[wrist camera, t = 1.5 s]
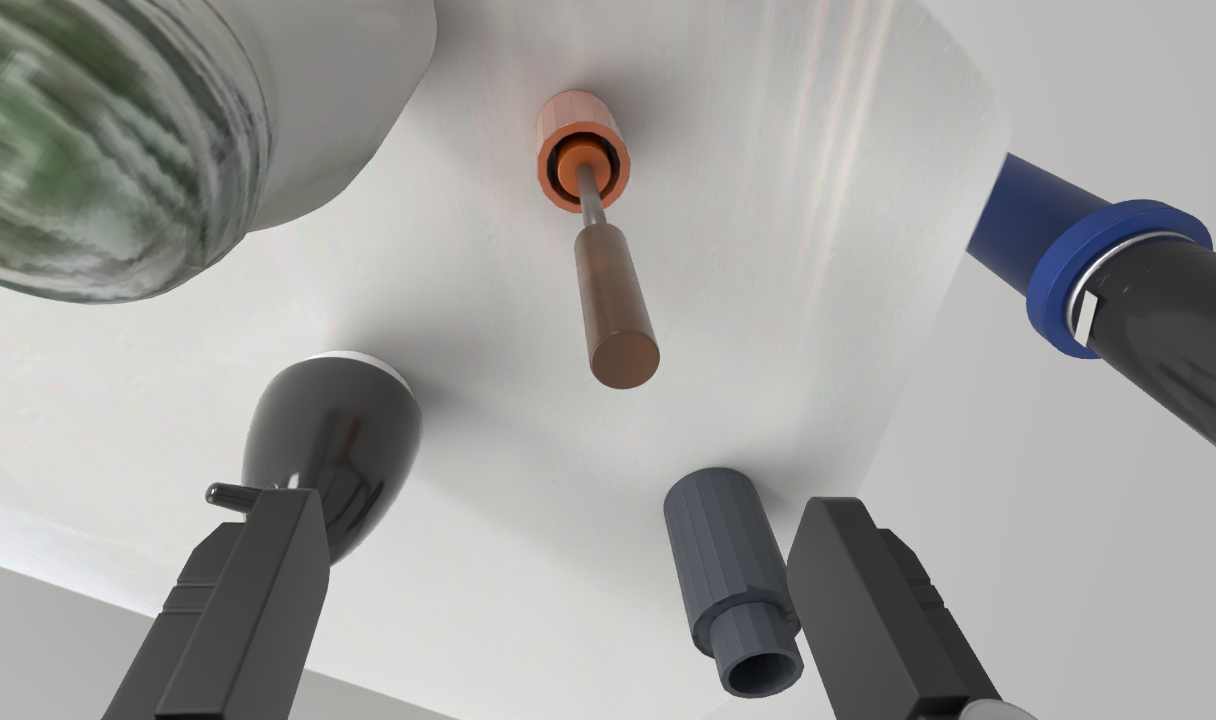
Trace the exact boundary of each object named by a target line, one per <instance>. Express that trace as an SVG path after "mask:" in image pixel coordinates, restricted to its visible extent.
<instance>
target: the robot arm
mask: <svg viewBox="0 0 1216 720" xmlns="http://www.w3.org/2000/svg"><path fill="white" fill-rule="evenodd" d="M1062 320H1063V324H1064V327H1065V329H1066V331H1067V332H1068V333H1069V335H1070V336H1071V337H1073V338H1074V339H1075V340H1076V341H1078V342H1079V343H1080V344H1081V345H1083V346H1084V347H1087V348H1089V349H1090V350H1092V351H1093V352H1094V353H1096V354H1097V355H1098V356H1099V357H1101V358H1102V359H1103V360H1105V361H1106V362H1107V363H1109V364H1110V365H1111V366H1112V367H1113V368H1115V369H1116V370H1117V371H1118V372H1120V373H1121V374H1123V375H1124V376H1125V377H1126V378H1128V379H1129V380H1130V381H1132V382H1133V383H1134V384H1135V385H1137V386H1138V387H1139V388H1140V389H1142V390H1143V391H1144V392H1146V393H1147V394H1148V395H1150V396H1151V397H1152V398H1153V399H1155V400H1156V401H1157V402H1159V403H1160V404H1161V405H1162V406H1164V407H1165V408H1166V409H1168V410H1169V411H1170V412H1172V413H1173V414H1174V415H1175V416H1177V417H1178V418H1179V419H1181V420H1182V421H1183V422H1185V423H1186V424H1187V425H1188V426H1190V427H1191V428H1192V429H1194V430H1195V431H1196V432H1198V433H1199V434H1200V435H1201V436H1203V437H1204V438H1205V439H1206V440H1208V441H1209V442H1210V443H1212V444H1213V445H1214V446H1216V253H1215V252H1213V251H1211V250H1209V249H1207V248H1205V247H1203V246H1201V245H1199V244H1197V243H1196V242H1195V241H1194V240H1192V239H1191V238H1189V237H1187V236H1185V235H1182V234H1180V233H1178V232H1176V231H1173V230H1170V229H1163V228H1153V229H1146V230H1141V231H1137V232H1134V233H1131V234H1129V235H1126V236H1124V237H1122V238H1119V239H1118V240H1116V241H1114V242H1112V243H1111V244H1109V245H1107V246H1106V247H1104V248H1103V249H1102V250H1100V251H1099V252H1098V253H1097V254H1095V255H1094V256H1093V257H1092V258H1091V259H1090V260H1089V261H1088V262H1087V263H1086V264H1085V265H1084V266H1083V267H1082V268H1081V269H1080V271H1079V272H1078V273H1077V275H1076V276H1075V277H1074V279H1073V280H1072V282H1071V284H1070V286H1069V288H1068V290H1067V292H1066V294H1065V297H1064V301H1063V305H1062ZM329 574H330V554H329V548H328V542H327V536H326V530H325V524H324V518H323V512H322V506H321V500H320V495H319V492H318V490H317V489H303V488H265V489H263V490H262V491H261V492H260V494H259V496H258V497H257V499H256V502H255V504H254V506H253V508H252V510H251V512H250V514H249V516H248V518H247V520H246V522H245V523H233V522H223V523H222V524H221V525H220V526H219V527H218V528H216V529H215V530H214V531H213V532H212V533H211V534H210V535H209V536H208V537H207V538H206V539H204V540H203V541H202V542H201V543H200V544H199V545H198V546H197V547H196V548H195V549H194V550H193V552H192V554H191V555H190V557H189V559H188V561H187V563H186V565H185V566H184V568H183V570H182V572H181V574H180V576H179V578H178V579H177V585H176V587H173V589H172V590H171V592H170V594H169V596H168V598H167V600H166V602H165V603H164V605H163V611H162V613H159V615H158V616H157V618H156V620H155V622H154V624H153V626H152V628H151V629H150V631H149V633H148V635H147V637H146V639H145V640H144V642H143V644H142V646H141V648H140V650H139V652H138V653H137V655H136V657H135V659H134V661H133V663H132V665H131V666H130V668H129V670H128V672H127V674H126V676H125V677H124V679H123V681H122V683H121V685H120V687H119V688H118V690H117V692H116V694H115V696H114V698H113V700H112V702H111V704H110V705H109V707H108V709H107V711H106V713H105V714H104V716H103V717H102V719H101V720H287V719H288V716H289V713H290V709H291V707H292V703H293V700H294V697H295V694H296V690H297V687H298V684H299V680H300V677H301V674H302V671H303V668H304V665H305V661H306V658H307V655H308V652H309V648H310V645H311V642H312V639H313V635H314V632H315V629H316V626H317V623H318V619H319V616H320V613H321V610H322V606H323V603H324V600H325V597H326V593H327V588H328V583H329ZM787 584H788V589H789V593H790V596H791V599H792V602H793V604H794V607H795V610H796V612H797V615H798V618H799V620H800V623H801V626H802V628H803V631H804V634H805V636H806V639H807V642H808V644H809V647H810V649H811V652H812V655H813V658H814V660H815V663H816V666H817V668H818V671H819V673H820V676H821V679H822V682H823V684H824V687H825V690H826V692H827V695H828V698H829V700H830V703H831V706H832V708H833V711H834V714H835V716H836V718H837V720H1038V719H1037V718H1035V717H1034V716H1032V715H1031V714H1030V713H1028V712H1026V711H1025V710H1023V709H1021V708H1019V707H1017V706H1015V705H1012V704H1010V703H1007V702H1004V701H1003V700H1002V698H1001V697H1000V695H999V694H998V692H997V690H996V689H995V687H994V686H993V684H992V682H991V680H990V679H989V677H988V675H987V674H986V672H985V670H984V669H983V667H982V665H981V664H980V662H979V660H978V659H977V657H976V655H975V653H974V652H973V650H972V649H971V647H970V645H969V643H968V642H967V640H966V638H965V637H964V635H963V633H962V632H961V630H960V628H959V627H958V625H957V624H956V622H955V620H954V618H953V617H952V615H951V613H950V612H949V610H948V609H947V608H944V602H943V600H942V598H941V596H940V595H939V593H938V591H937V590H936V588H935V586H934V585H931V583H930V578H929V576H928V575H927V573H926V571H925V569H924V568H923V566H922V565H921V563H920V561H919V559H918V558H917V556H916V554H915V553H914V552H913V551H912V550H911V549H910V548H909V547H908V546H907V545H906V544H905V543H904V542H903V541H901V540H900V539H899V538H898V537H897V536H896V535H895V534H894V533H893V532H892V531H891V530H890V529H877V527H876V525H875V524H874V522H873V520H872V518H871V517H870V515H869V513H868V511H867V509H866V508H865V506H864V504H863V503H862V502H861V501H860V500H859V499H858V498H855V497H812V498H810V499H809V501H808V502H807V505H806V507H805V510H804V513H803V516H802V519H801V522H800V524H799V527H798V530H797V533H796V536H795V539H794V542H793V545H792V547H791V550H790V553H789V556H788V560H787Z"/></svg>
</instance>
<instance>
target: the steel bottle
mask: <svg viewBox="0 0 1216 720" xmlns="http://www.w3.org/2000/svg"><path fill="white" fill-rule="evenodd" d="M664 516H665V521H666V525H667V529H668V534H669V538H670V543H671V547H672V552H673V556H674V560H675V565H676V569H677V574H678V578H679V583H680V587H681V591H682V596H683V600H684V605H685V609H686V614H687V618H688V623H689V627H690V631H691V636H692V639H693V642H694V645H695V646H696V647H697V648H698V649H699V650H700V651H701V652H702V653H703V654H704V655H706V656H709V657H711V658H713V659H715V661H716V665H717V669H718V673H719V677H720V681H721V683H722V686H723V688H724V690H726V691H727V692H729V693H730V694H732V695H733V696H737V697H742V698H763V697H767V696H770V695H774V694H778V693H780V692H782V691H783V690H785V689H787V688H789V687H791V686H792V685H793V684H794V683H795V682H796V681H797V680H798V679H799V678H800V677H801V675H802V672H803V669H804V664H803V661H802V658H801V655H800V653H799V650H798V647H797V644H796V642H795V639H794V638H795V636H796V635H797V634H798V633H799V631H800V630H801V627H802V626H801V623H800V620H799V618H798V615H797V612H796V610H795V607H794V604H793V602H792V599H791V596H790V593H789V589H788V584H787V567H786V565H785V562H784V560H783V557H782V555H781V552H780V550H779V547H778V545H777V542H776V540H775V537H774V534H773V532H772V529H771V527H770V524H769V522H768V519H767V517H766V514H765V512H764V509H763V507H762V504H761V502H760V499H759V496H758V494H757V492H756V490H755V488H754V486H753V484H752V482H751V481H750V480H749V479H748V478H747V477H746V476H744V475H743V474H741V473H739V472H737V471H735V470H731V469H726V468H709V469H703V470H700V471H697V472H694V473H691V474H689V475H687V476H686V477H684V478H682V479H681V480H680V481H678V482H677V483H676V484H675V485H674V486H673V487H672V488H671V490H670V491H669V493H668V494H667V496H666V499H665V502H664Z"/></svg>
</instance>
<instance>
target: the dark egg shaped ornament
mask: <svg viewBox="0 0 1216 720" xmlns="http://www.w3.org/2000/svg"><path fill="white" fill-rule="evenodd" d="M422 433H423V421H422V415H421V412H420V409H419V406H418V404H417V402H416V400H415V398H414V396H413V393H412V391H411V389H410V387H409V386H408V384H407V383H406V381H405V380H404V379H403V378H402V376H401V375H400V374H399V373H398V372H397V371H396V370H394V369H393V368H392V367H391V366H389V365H388V364H386V363H385V362H383V361H381V360H379V359H377V358H375V357H373V356H370V355H367V354H364V353H360V352H354V351H330V352H324V353H320V354H316V355H314V356H311V357H308V358H306V359H304V360H302V361H300V362H299V363H296V364H294V365H292V366H290V367H288V368H286V369H285V370H283V371H282V372H280V373H279V374H278V375H277V376H276V377H274V378H273V379H272V381H271V382H270V383H269V384H268V386H267V387H266V389H265V390H264V392H263V394H262V396H261V398H260V400H259V402H258V404H257V406H256V409H255V412H254V415H253V418H252V421H251V424H250V428H249V431H248V435H247V439H246V444H245V448H244V455H243V462H242V476H241V486H239V485H232V484H225V483H219V482H216V483H213V484H212V485H210V486H209V488H208V489H207V491H206V494H205V499H206V501H207V502H208V503H210V504H213V505H217V506H220V507H223V508H227V509H230V510H234V511H237V512H241V513H243V519H244V523H245V522H246V520H247V518H248V516H249V514H250V512H251V510H252V508H253V506H254V504H255V502H256V499H257V497H258V496H259V494H260V492H261V491H262V490H263V489H265V488H303V489H317V490H318V492H319V495H320V500H321V506H322V512H323V518H324V524H325V530H326V536H327V542H328V548H329V554H330V567H332V566H333V565H335V564H337V563H338V562H340V561H341V560H343V559H344V558H345V557H347V556H348V555H349V554H350V553H351V552H353V551H354V550H355V549H356V548H357V547H358V546H359V545H360V544H361V543H362V542H363V541H364V540H365V539H366V538H367V537H368V536H369V535H370V534H371V532H372V531H373V530H374V529H375V528H376V527H377V525H378V524H379V523H380V522H381V520H382V519H383V518H384V517H385V515H386V514H387V512H388V511H389V510H390V508H391V507H392V505H393V504H394V502H395V500H396V499H397V497H398V495H399V494H400V492H401V490H402V488H403V486H404V484H405V482H406V480H407V478H408V476H409V474H410V471H411V469H412V467H413V464H414V462H415V460H416V457H417V454H418V451H419V448H420V444H421V439H422Z"/></svg>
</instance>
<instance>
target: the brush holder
mask: <svg viewBox="0 0 1216 720" xmlns="http://www.w3.org/2000/svg"><path fill="white" fill-rule="evenodd" d="M576 132H593V133H595V134H597V135H600V136H601V139H602V142H603V145H604V148H605V151H606V154H607V157H608V160H609V163H610V168H611V174H610V179H609V182H608V184H607V185H606V187H605V188H604V189H603V190H602V191H601V192H600V193H599V194H600V198H601V202H602V206H603V209H604V208H607V207H608V206H610V205H611V204H612V203H613V202H614V201H615V200H616V199H617V198H619V197H620V195H621V194H622V192H623V190H624V188H625V186H626V184H627V182H628V180H629V172H630V158H629V155H628V153H627V150H626V147H625V144H624V141H623V139H622V137H621V134H620V132H619V129H618V127H617V125H616V122H615V120H614V117H613V115H612V113H611V111H610V110H609V108H608V107H607V106H606V104H605V103H604V102H603V101H602V100H600V99H599V98H598V97H596V96H595V95H593V94H590V93H588V92H584V91H577V90H576V91H567V92H563V93H560V94H558V95H556V96H555V97H553V98H552V99H551V100H549V101H548V102H547V103H546V105H545V106H544V107H543V109H542V110H541V112H540V114H539V116H538V119H537V124H536V159H537V177H538V181H539V183H540V185H541V188H542V190H543V192H544V193H545V195H546V196H547V197H548V198H549V199H550V200H551V201H552V202H553V203H554V204H555V205H556V206H558V207H560V208H562V209H564V210H567V211H569V212H572V213H573V212H574V213H582V208H581V203H580V197H576V196H573V195H571V194H570V193H568V192H567V191H566V190H565V189H564V188H563V187H562V185H561V183H560V181H559V178H558V171H557V162H556V153H555V145H556V144H557V143H558V142H559V141H560V140H561V139H562V138H563V137H565V136H568V135H570V134H573V133H576Z"/></svg>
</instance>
